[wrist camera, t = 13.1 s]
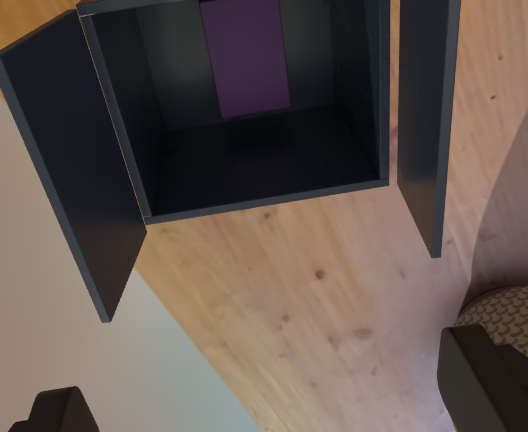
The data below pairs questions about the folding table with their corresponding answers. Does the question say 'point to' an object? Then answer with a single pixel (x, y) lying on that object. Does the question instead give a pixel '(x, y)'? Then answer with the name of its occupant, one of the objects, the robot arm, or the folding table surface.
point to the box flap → (75, 153)
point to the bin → (285, 119)
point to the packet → (246, 55)
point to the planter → (500, 316)
